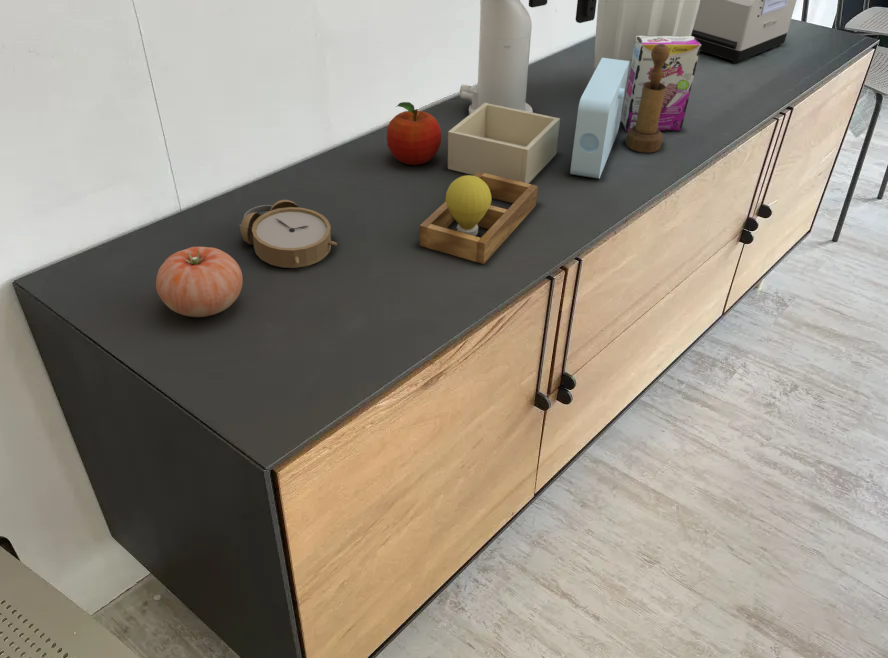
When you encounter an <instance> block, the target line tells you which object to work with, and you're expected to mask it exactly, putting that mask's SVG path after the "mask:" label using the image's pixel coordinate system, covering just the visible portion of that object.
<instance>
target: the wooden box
mask: <svg viewBox="0 0 888 658" xmlns="http://www.w3.org/2000/svg"><path fill="white" fill-rule="evenodd" d="M560 121H561V118H559V117H554V116H551V115H545V114H541V113H536V112H533V113H532V112H527V111H522V110H518V109H513V108H508V107H503V106H499V105H494V104H489V103H484V104H482V105H481V106H480V107H479V108H477V109H476V110H475V111H474V112H472V113H471V114H470V115H469V114H468V115H467V116H466V117H465V118H463V119H462V120H461V121H460V122H458V123H457V124H456V125H454V126H453V127H452V128H450V129H449V130H448V132H447V169H448V170H451V171H455V172H459V173H463V174H466V175H471V176H474V175H475V174H476V173H477V172H478V171H479V172H483V173H487V174H491V175H495V176H499V177H503V178H507V179H512V180H516V181H520V182H524V183H528V184H531V182H532V181H533V180H534V179H535V178H536V177H537V176H538V174H539V173H540V172H541V171H542V170H543V169H544V168H545V167H546V166H547V165H548V164H549V163H550V162H551V161H552V160H553V158H555V156H556V155H557V150H558V143H559V142H558V141H559V131H560V123H561V122H560Z"/></svg>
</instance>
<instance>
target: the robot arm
mask: <svg viewBox="0 0 888 658" xmlns="http://www.w3.org/2000/svg"><path fill="white" fill-rule="evenodd" d="M597 3H598V0H577V1H576V11H575V22H576V23H578V24H582V23H587V22H591V21H594V20H595V17H596V10H597ZM547 4H548V0H528V7H530V8H537V7H542V6H546V5H547ZM479 6H480V8H479V9H480V12H479V16H480V17H479V41H478V42H479V43H478V66H477V85H476V86H471V85H469V84H461V86H460V88H459V97H460V99H462V100H468V101H470V102H471V104H470V105H469V107H468V116H469V115H470V114H471V113H472V112H474V111H475V110H476V109H477V108H479V107H480V106H481V105H482V104H484V103H489V104H494V105H499V106H503V107H508V108H513V109H518V110H522V111H527V112H532V113H534V110H533V108H532V106H531V105H530V104H529V103H527V102H526V100H527V87H528V76H529V63H530V53H531V38H532V28H533V27H532V17H531V15H530V12H529V11H528V10H527V8H526V7H525V6H524V4H523V3H522V1H521V0H479Z"/></svg>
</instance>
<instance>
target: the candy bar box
mask: <svg viewBox="0 0 888 658" xmlns="http://www.w3.org/2000/svg"><path fill="white" fill-rule="evenodd" d="M658 44H664V45H666V46H667V47H668V48H669V57H668V59H667V60H666V61H665V63H664V64H663V66H662V71H663V72H664V74H663V76H662V79H661V81H660V83H662V84H664V85H665V86H666V89H665V94H664V98H663V103H662V108H661V112H660V117H659V122H658V127H657V128H658V129H659V131H660V132H661V131H662V132H667V131H668V132H671V131H672V132H673V131H674V132H675V131H676V132H680V131H682V128H683V124H684V120H685V115H686V111H687V108H688V103H689V99H690V94H691V90H692V85H693V82H694V77H695V73H696V68H697V65H698V61H699V58H700V57H699V56H700V53H701V51H700V48H701V44H700V43H699V42H698V41H697V40H696V38H695V37H694V36H636V38H635V43H634V49H633V54H632V59H631V65H630V71H629V77H628V83H627V88H626V93H625V99H624V104H623V108H622V114H621V120H620V124H622V126H623V129H624V130H625V131H626V132H628V130H629V129H630V128H632V127H633V126H635V125H636V121H637V116H638V111H639V106H640V100H641V95H642V89H643V84H644V83H645V82H651V80H650V71H651V70H653V67H654V63H653V60H652V57H651V52H652V50H653V48H654V47H655V46H656V45H658Z"/></svg>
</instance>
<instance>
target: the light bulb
mask: <svg viewBox="0 0 888 658" xmlns="http://www.w3.org/2000/svg"><path fill="white" fill-rule="evenodd" d="M445 202H446V204H447V206H448V208H449V210H450V212H451V214H452V216H453V217H454V219H455V221H456V223H457V225H456V231H458V232H462V233H465V234H469V235H473V236H476V237H477V235H478V233H479V226H478V225H477V224H478V222H479V221H480V220H481V219H482V218H483V217H484V215H485V213H486V212H487V210H488V209H489V207H490V205H492V198H491V193H490V190H489V187H488V186H487V184H486V183H485V182H484V181H483V180H482V179H480V178H478V177H476V176H474V175H471V174H465V175H461V176H459V177H457V178H456V179H454V180H453V181H452V182H451V183H450V184H449V186H448V187H447V190H446V193H445Z"/></svg>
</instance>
